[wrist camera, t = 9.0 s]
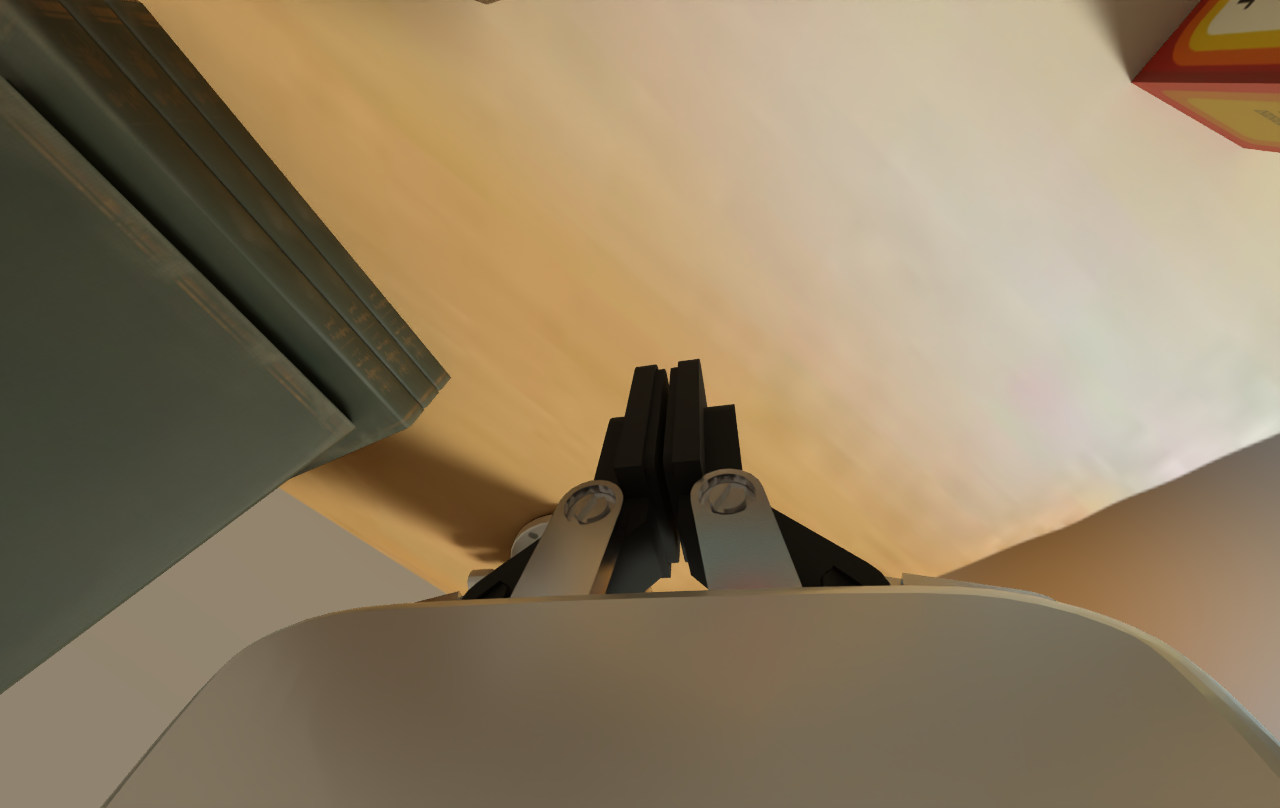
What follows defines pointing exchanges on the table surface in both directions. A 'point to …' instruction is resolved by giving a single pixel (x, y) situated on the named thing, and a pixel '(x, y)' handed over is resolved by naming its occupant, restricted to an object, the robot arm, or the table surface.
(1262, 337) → the table surface
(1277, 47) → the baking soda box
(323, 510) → the table surface
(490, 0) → the bridge
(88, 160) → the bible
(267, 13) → the table surface
